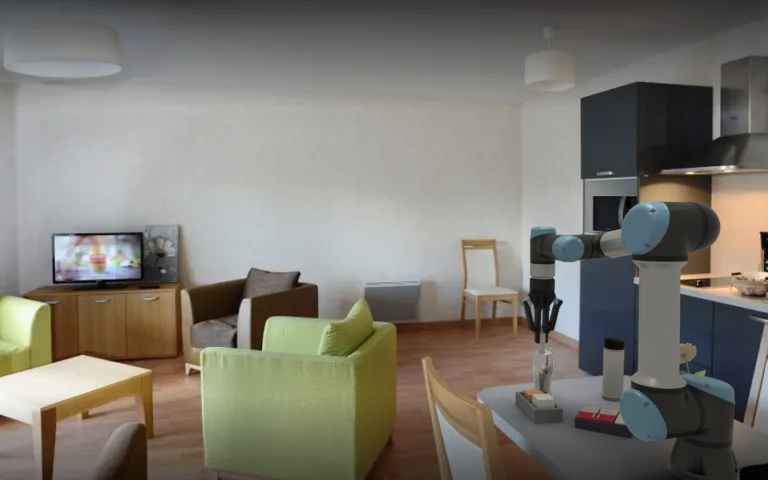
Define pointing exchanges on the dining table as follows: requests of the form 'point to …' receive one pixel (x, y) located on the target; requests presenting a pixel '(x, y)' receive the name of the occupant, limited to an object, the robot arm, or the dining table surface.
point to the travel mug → (613, 369)
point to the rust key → (528, 393)
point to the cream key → (543, 401)
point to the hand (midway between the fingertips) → (541, 353)
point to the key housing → (539, 410)
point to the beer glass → (543, 371)
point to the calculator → (602, 421)
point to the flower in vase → (688, 357)
